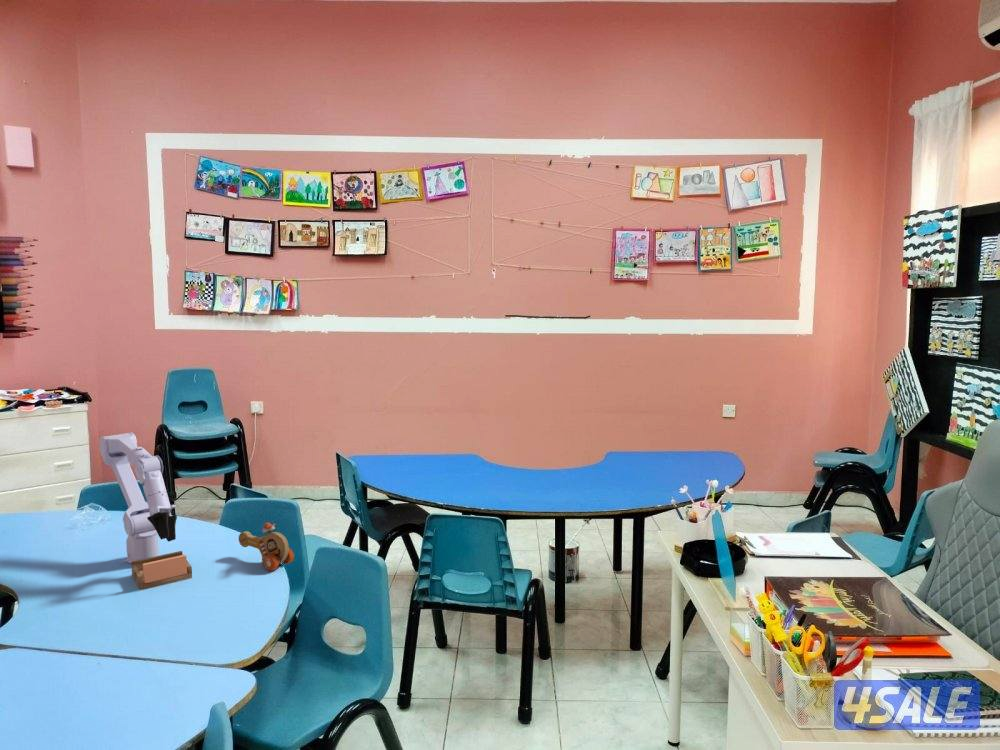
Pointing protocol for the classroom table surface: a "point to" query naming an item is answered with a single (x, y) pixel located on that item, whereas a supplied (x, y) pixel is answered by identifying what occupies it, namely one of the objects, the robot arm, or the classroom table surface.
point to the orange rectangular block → (164, 568)
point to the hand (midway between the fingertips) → (168, 539)
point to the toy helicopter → (269, 546)
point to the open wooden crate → (139, 579)
